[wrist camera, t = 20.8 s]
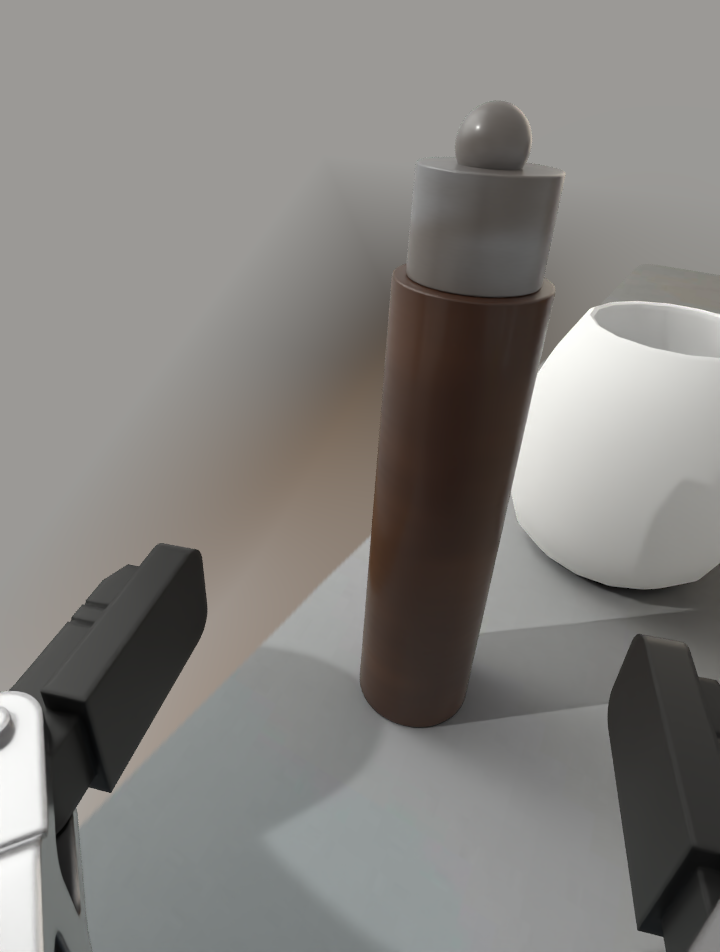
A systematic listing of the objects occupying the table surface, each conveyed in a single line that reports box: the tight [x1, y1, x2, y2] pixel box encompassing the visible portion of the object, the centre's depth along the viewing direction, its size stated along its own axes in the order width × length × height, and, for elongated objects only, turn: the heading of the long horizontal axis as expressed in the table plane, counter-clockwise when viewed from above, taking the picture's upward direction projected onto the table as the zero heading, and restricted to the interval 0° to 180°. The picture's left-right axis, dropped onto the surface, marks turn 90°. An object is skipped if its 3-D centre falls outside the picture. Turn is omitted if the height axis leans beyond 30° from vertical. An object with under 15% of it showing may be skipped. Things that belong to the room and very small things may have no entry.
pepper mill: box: [360, 101, 565, 727], centre depth 22 cm, size 5×5×22 cm
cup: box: [511, 301, 720, 590], centre depth 34 cm, size 13×13×14 cm
